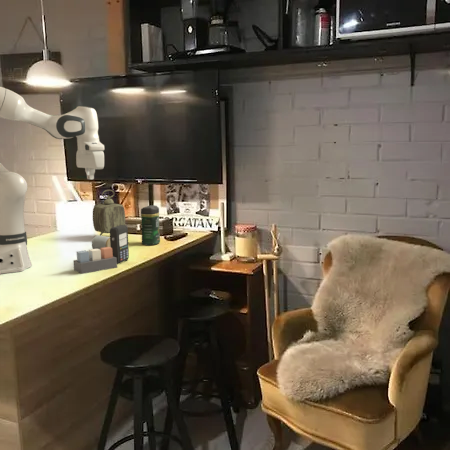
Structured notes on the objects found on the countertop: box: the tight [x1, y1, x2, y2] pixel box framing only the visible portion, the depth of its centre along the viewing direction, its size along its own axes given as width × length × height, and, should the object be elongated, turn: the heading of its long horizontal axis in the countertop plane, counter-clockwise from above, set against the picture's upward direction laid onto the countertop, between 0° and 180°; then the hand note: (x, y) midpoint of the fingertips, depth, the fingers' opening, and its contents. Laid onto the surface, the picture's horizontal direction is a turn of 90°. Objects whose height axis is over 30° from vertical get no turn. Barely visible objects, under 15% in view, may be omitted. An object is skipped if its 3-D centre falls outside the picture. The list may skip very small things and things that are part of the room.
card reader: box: [109, 224, 130, 265], centre depth 230 cm, size 9×4×15 cm, turn 160°
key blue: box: [76, 250, 89, 263], centre depth 216 cm, size 4×4×6 cm
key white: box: [88, 248, 101, 261], centre depth 219 cm, size 4×4×6 cm
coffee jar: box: [140, 204, 161, 246], centre depth 265 cm, size 10×8×19 cm
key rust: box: [100, 247, 113, 259], centre depth 222 cm, size 4×4×6 cm
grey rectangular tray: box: [73, 257, 118, 275], centre depth 220 cm, size 15×8×4 cm, turn 127°
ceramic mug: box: [91, 234, 111, 249], centre depth 251 cm, size 11×8×8 cm
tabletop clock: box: [92, 189, 126, 236], centre depth 279 cm, size 14×9×25 cm, turn 133°
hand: (90, 179), depth 232 cm, fingers closed
